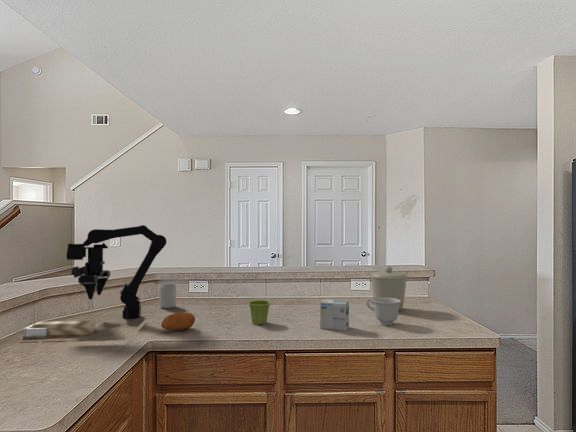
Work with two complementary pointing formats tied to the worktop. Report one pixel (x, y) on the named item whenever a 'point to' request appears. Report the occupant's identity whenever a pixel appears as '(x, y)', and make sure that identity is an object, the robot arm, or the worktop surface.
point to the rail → (67, 327)
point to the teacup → (385, 309)
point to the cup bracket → (34, 332)
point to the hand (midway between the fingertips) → (94, 297)
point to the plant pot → (259, 311)
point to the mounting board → (60, 336)
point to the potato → (178, 321)
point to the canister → (389, 284)
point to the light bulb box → (334, 314)
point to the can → (168, 295)
